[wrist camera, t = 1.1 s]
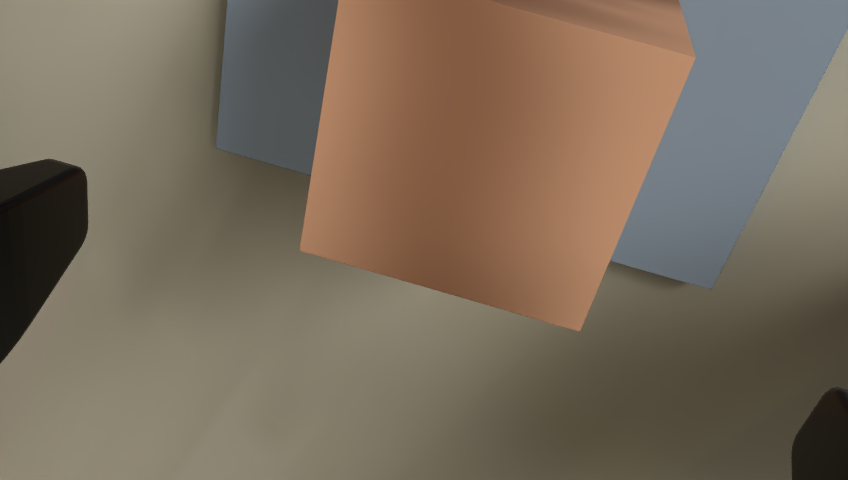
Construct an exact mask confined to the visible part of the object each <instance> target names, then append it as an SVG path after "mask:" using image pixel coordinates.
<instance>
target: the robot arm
mask: <svg viewBox="0 0 848 480" xmlns="http://www.w3.org/2000/svg"><path fill="white" fill-rule="evenodd" d="M87 230H88V197H87V177H86V174H85V172H84V171H83V170H82V169H81V168H80V167H78V166H74V165H71V164H68V163H64V162H61V161H57V160H54V159H45V160H40V161H36V162H31V163H27V164H22V165H18V166H13V167H9V168H4V169H0V363H1V362H2V361H3V360H4V359H5V357H6V356H7V355H8V354H9V352H10V351H11V350H12V349H13V347H14V346H15V345H16V344H17V342H18V341H19V340H20V338H21V337H22V336H23V334H24V333H25V331H26V330H27V328H28V327H29V326H30V324H31V323H32V321H33V320H34V318H35V317H36V315H37V313H38V312H39V310H40V309H41V307H42V306H43V304H44V303H45V301H46V300H47V298H48V297H49V295H50V294H51V292H52V291H53V289H54V287H55V286H56V284H57V283H58V281H59V280H60V278H61V277H62V275H63V274H64V272H65V271H66V269H67V268H68V266H69V265H70V263H71V261H72V260H73V258H74V257H75V255H76V254H77V252H78V251H79V249H80V248H81V246H82V244H83V242H84V240H85V238H86V234H87ZM792 480H848V390H846V389H842V388H838V387H836V388H832V389H830V390H828V391H827V392H826V393H825V394H824V395H823V396H822V398H821V399H820V401H819V402H818V404H817V405H816V407H815V408H814V410H813V411H812V413H811V414H810V415H809V417H808V418H807V420H806V421H805V423H804V424H803V426H802V427H801V429H800V430H799V432H798V433H797V435H796V437H795V440H794V443H793V446H792Z"/></svg>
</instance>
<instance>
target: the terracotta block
mask: <svg viewBox="0 0 848 480" xmlns="http://www.w3.org/2000/svg"><path fill="white" fill-rule="evenodd" d="M695 58H696V57H695V53H694V50H693V46H692V43H691V40H690V36H689V33H688V30H687V26H686V23H685V19H684V16H683V13H682V9H681V6H680V3H679V0H339V1H338V7H337V14H336V20H335V26H334V33H333V39H332V46H331V52H330V58H329V65H328V71H327V77H326V84H325V90H324V97H323V103H322V109H321V116H320V122H319V129H318V135H317V141H316V148H315V154H314V160H313V167H312V173H311V180H310V186H309V192H308V199H307V205H306V212H305V218H304V224H303V231H302V237H301V243H300V250H299V251H303V252H306V253H310V254H313V255H316V256H320V257H323V258H327V259H330V260H334V261H337V262H341V263H344V264H348V265H351V266H354V267H358V268H361V269H365V270H368V271H372V272H375V273H379V274H382V275H386V276H389V277H392V278H396V279H399V280H403V281H406V282H410V283H413V284H417V285H420V286H424V287H427V288H430V289H434V290H437V291H441V292H444V293H448V294H451V295H455V296H458V297H462V298H465V299H469V300H472V301H475V302H479V303H482V304H486V305H489V306H493V307H496V308H500V309H503V310H507V311H510V312H513V313H517V314H520V315H524V316H527V317H531V318H534V319H538V320H541V321H545V322H548V323H551V324H555V325H558V326H562V327H565V328H569V329H572V330H576V331H579V332H580V330H581V328H582V326H583V323H584V321H585V318H586V316H587V314H588V311H589V309H590V307H591V304H592V302H593V300H594V297H595V295H596V292H597V290H598V288H599V285H600V283H601V281H602V278H603V276H604V274H605V271H606V269H607V266H608V264H609V262H610V259H611V257H612V255H613V252H614V250H615V247H616V245H617V243H618V240H619V238H620V236H621V233H622V231H623V229H624V226H625V224H626V221H627V219H628V217H629V214H630V212H631V210H632V207H633V205H634V203H635V200H636V198H637V195H638V193H639V191H640V188H641V186H642V184H643V181H644V179H645V177H646V174H647V172H648V169H649V167H650V165H651V162H652V160H653V158H654V155H655V153H656V151H657V148H658V146H659V143H660V141H661V139H662V136H663V134H664V132H665V129H666V127H667V125H668V122H669V120H670V117H671V115H672V113H673V110H674V108H675V106H676V103H677V101H678V98H679V96H680V94H681V91H682V89H683V87H684V84H685V82H686V80H687V77H688V75H689V72H690V70H691V68H692V65H693V63H694V61H695Z"/></svg>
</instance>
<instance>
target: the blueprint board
mask: <svg viewBox="0 0 848 480" xmlns="http://www.w3.org/2000/svg"><path fill="white" fill-rule="evenodd" d="M338 1H339V0H227V13H226V26H225V38H224V51H223V63H222V76H221V89H220V101H219V114H218V127H217V139H216V149H220V150H223V151H227V152H230V153H234V154H237V155H241V156H244V157H248V158H251V159H255V160H258V161H262V162H265V163H269V164H272V165H276V166H279V167H283V168H286V169H290V170H293V171H297V172H300V173H304V174H307V175H311V173H312V167H313V160H314V154H315V148H316V141H317V135H318V129H319V122H320V116H321V109H322V103H323V97H324V90H325V84H326V77H327V71H328V65H329V58H330V52H331V46H332V39H333V33H334V26H335V20H336V14H337V7H338ZM679 3H680V6H681V9H682V13H683V16H684V19H685V23H686V26H687V30H688V33H689V36H690V40H691V43H692V46H693V50H694V53H695V57H696V58H695V61H694V63H693V65H692V68H691V70H690V72H689V75H688V77H687V80H686V82H685V84H684V87H683V89H682V91H681V94H680V96H679V98H678V101H677V103H676V106H675V108H674V110H673V113H672V115H671V117H670V120H669V122H668V125H667V127H666V129H665V132H664V134H663V136H662V139H661V141H660V143H659V146H658V148H657V151H656V153H655V155H654V158H653V160H652V162H651V165H650V167H649V169H648V172H647V174H646V177H645V179H644V181H643V184H642V186H641V188H640V191H639V193H638V195H637V198H636V200H635V203H634V205H633V207H632V210H631V212H630V214H629V217H628V219H627V221H626V224H625V226H624V229H623V231H622V233H621V236H620V238H619V240H618V243H617V245H616V247H615V250H614V252H613V255H612V257H611V259H610V261H612V262H616V263H619V264H623V265H626V266H630V267H633V268H637V269H640V270H644V271H647V272H651V273H654V274H658V275H661V276H665V277H668V278H672V279H675V280H679V281H682V282H686V283H689V284H693V285H696V286H700V287H703V288H707V289H710V290H711V289H712V287H713V285H714V283H715V281H716V280H717V278H718V276H719V274H720V272H721V270H722V268H723V266H724V264H725V262H726V260H727V258H728V257H729V255H730V253H731V251H732V249H733V247H734V245H735V243H736V241H737V239H738V237H739V235H740V234H741V232H742V230H743V228H744V226H745V224H746V222H747V220H748V218H749V216H750V214H751V212H752V211H753V209H754V207H755V205H756V203H757V201H758V199H759V197H760V195H761V193H762V191H763V190H764V188H765V186H766V184H767V182H768V180H769V178H770V176H771V174H772V172H773V170H774V168H775V167H776V165H777V163H778V161H779V159H780V157H781V155H782V153H783V151H784V149H785V147H786V145H787V144H788V142H789V140H790V138H791V136H792V134H793V132H794V130H795V128H796V126H797V124H798V122H799V121H800V119H801V117H802V115H803V113H804V111H805V109H806V107H807V105H808V103H809V101H810V99H811V98H812V96H813V94H814V92H815V90H816V88H817V86H818V84H819V82H820V80H821V78H822V77H823V75H824V73H825V71H826V69H827V67H828V65H829V63H830V61H831V59H832V57H833V55H834V54H835V52H836V50H837V48H838V46H839V44H840V42H841V40H842V38H843V36H844V34H845V32H846V31H847V29H848V0H679Z"/></svg>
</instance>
